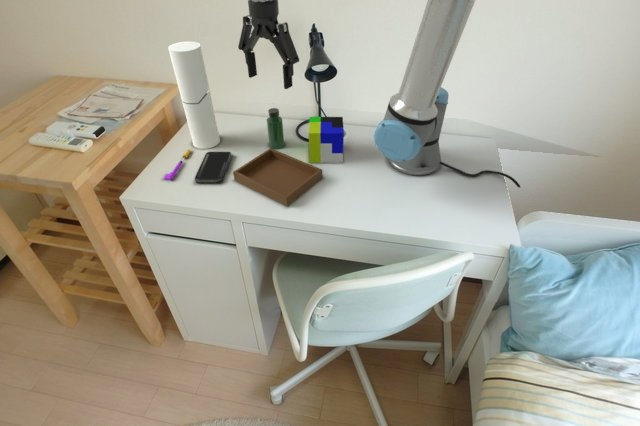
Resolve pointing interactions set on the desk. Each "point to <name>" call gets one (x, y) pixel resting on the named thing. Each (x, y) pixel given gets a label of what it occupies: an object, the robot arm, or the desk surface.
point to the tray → (278, 176)
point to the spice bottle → (275, 129)
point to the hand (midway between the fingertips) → (270, 81)
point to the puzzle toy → (326, 139)
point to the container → (195, 93)
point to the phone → (213, 168)
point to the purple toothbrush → (177, 167)
